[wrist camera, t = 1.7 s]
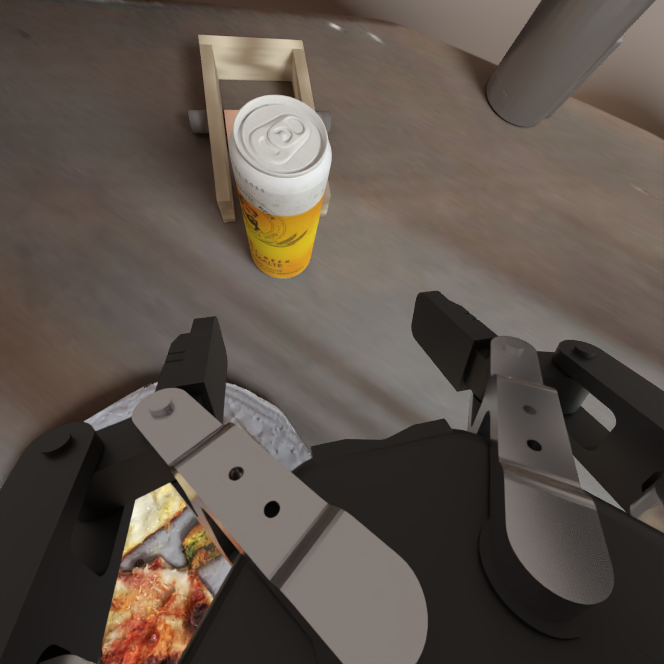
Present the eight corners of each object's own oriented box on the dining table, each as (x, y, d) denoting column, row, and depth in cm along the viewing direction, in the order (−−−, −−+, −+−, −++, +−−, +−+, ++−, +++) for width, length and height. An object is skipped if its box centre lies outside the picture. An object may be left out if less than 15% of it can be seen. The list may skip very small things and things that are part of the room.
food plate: (92, 803, 21) (56, 881, 17) (-56, 510, 23) (-114, 529, 19) (370, 547, 28) (383, 568, 24) (237, 339, 30) (232, 331, 26)
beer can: (239, 252, 31) (200, 125, 16) (281, 216, 32) (280, 71, 18) (282, 292, 30) (282, 201, 16) (322, 255, 32) (355, 140, 17)
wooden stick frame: (316, 73, 37) (319, 41, 33) (343, 215, 33) (350, 195, 30) (187, 69, 34) (177, 33, 30) (203, 223, 31) (193, 202, 27)
